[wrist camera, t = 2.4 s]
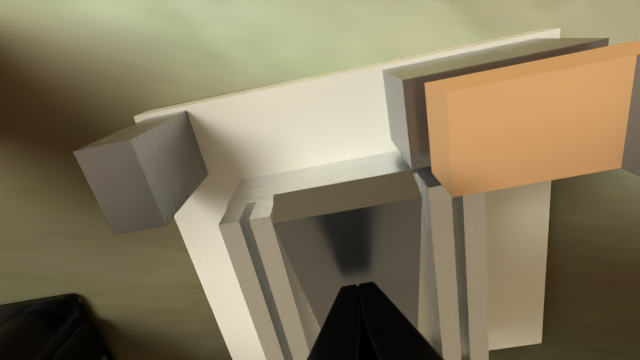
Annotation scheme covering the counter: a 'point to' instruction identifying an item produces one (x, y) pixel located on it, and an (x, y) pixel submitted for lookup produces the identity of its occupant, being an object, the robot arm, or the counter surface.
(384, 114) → the board
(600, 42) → the grey piece
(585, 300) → the counter surface
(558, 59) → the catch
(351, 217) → the grey lever
